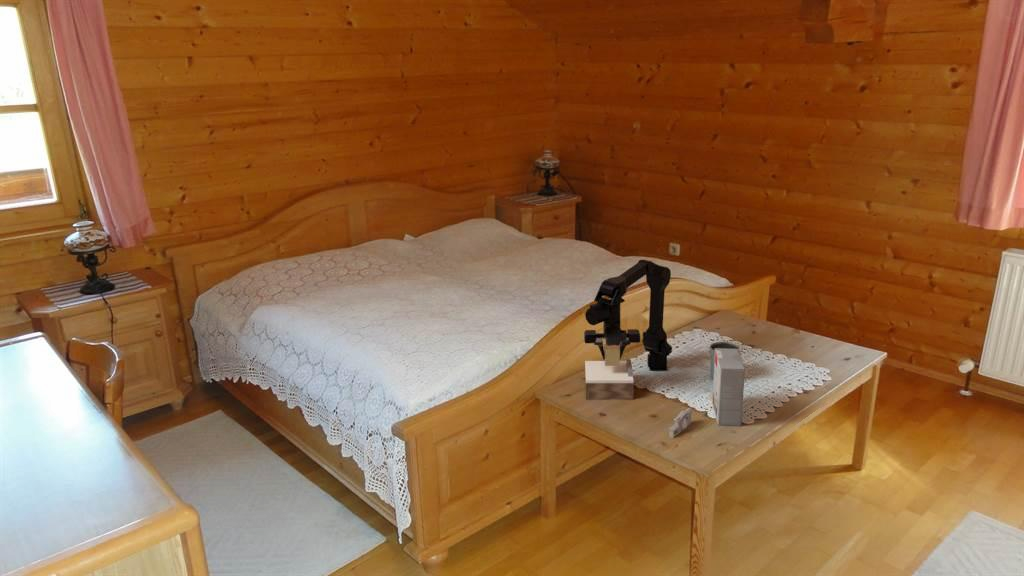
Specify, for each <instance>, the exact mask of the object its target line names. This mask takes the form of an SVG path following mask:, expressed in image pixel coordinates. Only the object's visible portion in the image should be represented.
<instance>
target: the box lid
mask: <svg viewBox="0 0 1024 576" xmlns="http://www.w3.org/2000/svg"><path fill="white" fill-rule="evenodd" d="M584 366H585V369H584V373H585V374H586V383H634V369H633V365H632V360H631V359H629V358H626V360H620V366H605V362H604V360H585V361H584ZM586 383H585V384H586Z"/></svg>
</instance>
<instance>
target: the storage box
mask: <svg viewBox="0 0 1024 576" xmlns="http://www.w3.org/2000/svg"><path fill="white" fill-rule="evenodd" d="M584 378H585V379H584V380H585V399H586V400H610V401H611V400H612V401H613V400H617V401H618V400H620V401H621V400H630V401H631V400H632V401H633V400H634V382H633V383H586V374H585V375H584Z"/></svg>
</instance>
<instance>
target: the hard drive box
mask: <svg viewBox="0 0 1024 576" xmlns="http://www.w3.org/2000/svg"><path fill="white" fill-rule="evenodd" d="M745 372H746V368H745V365H744V362H743V360H742V356H741V353H740V349H739V350H738V349H726V348H715V360H714V381H713V380H712V381H713V383H712V384H713V386H712V405H713V407H712V408H713V410H714V417H715V419H716V424H717V425H718V426H729V427H730V426H732V427H733V426H734V427H737V426H738V427H741V426H742V424H743V423H742V421H743V420H742V419H743V408H744V407H743V405H744V391H745V375H746V374H745Z"/></svg>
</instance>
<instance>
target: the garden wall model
mask: <svg viewBox="0 0 1024 576" xmlns="http://www.w3.org/2000/svg"><path fill="white" fill-rule="evenodd" d="M692 411H693V409H692V407H687V408H686V409H685V410H681V411H680V413H678V414H677V416H676V417H675V418H673V421H674V424H673V425H672V426H671V427H669V428H668V430H669V437H670V438H672V437H673V438H675V437H676V436H677V435H678V434H680V433H681V432H683V431H684V430H686V428H687V427H688V426H689V425H691V424H692ZM679 432H680V433H679ZM675 435H676V436H675Z"/></svg>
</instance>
